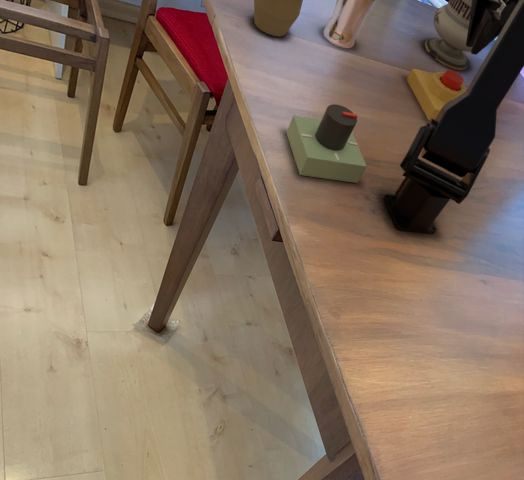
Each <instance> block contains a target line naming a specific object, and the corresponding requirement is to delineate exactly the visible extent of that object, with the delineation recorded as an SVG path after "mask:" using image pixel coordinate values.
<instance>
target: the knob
mask: <svg viewBox="0 0 524 480" xmlns="http://www.w3.org/2000/svg"><path fill="white" fill-rule="evenodd" d="M320 120H321V122H320V125H319V127H318V129H317V131H316V134H315V136H316V139H317V140H318V142H319V143H320V144H321V145H323V146H324V147H326V148H328V149H331V150H342V149H343V148H344V147H345V145H346V143H347V141H348V139H349V137H350V135H351V133H352V132H353V131H354V129H355V127H356V125H357V123H358V114H357V113H354V112H353V111H352V110H350V109H349V108H347V107H346V106H344V105H340V104H336V103H335V104H333V103H331V104H329V105H328V106H327V107H326V109H325V111H324V113H323V115H322V118H321V119H320Z"/></svg>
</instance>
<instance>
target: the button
mask: <svg viewBox="0 0 524 480" xmlns="http://www.w3.org/2000/svg"><path fill="white" fill-rule="evenodd" d="M443 73H444V75H443V77H442V78H441V80H440V81H441V83H442V84H444V85H445V86H446V87H447V88H449V89H451V90H455V91H458V90H459V88H460V87H461V85H462V84H464V82H465V79H464V77H463V76H462V75H461V74H459V73H458V72H457V71H454V70H451V69H447V70H445V71H444V72H443Z"/></svg>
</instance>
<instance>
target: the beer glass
mask: <svg viewBox="0 0 524 480" xmlns="http://www.w3.org/2000/svg"><path fill="white" fill-rule="evenodd" d="M375 2H376V0H336V2H335V7H334V9H333V13H332V15H331V17H330V19H329V20H328V22H327V24H326V26H325V28H324V30H323V33H322V34H323V36H324V38H325V39H326V40H327V42H330V43H331V44H333V45H334V46H336V47H338V48H343V49H351V48H353V47H354V45H355V43H356V38H357V36H358V32H359V29H360V27H361V24H362V23H363V21H364V19H365V18H366V16H367V14H368V13H369V11H370V10H371V8H372V6H373V5H374V4H375Z"/></svg>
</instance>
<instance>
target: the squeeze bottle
mask: <svg viewBox="0 0 524 480" xmlns="http://www.w3.org/2000/svg"><path fill="white" fill-rule="evenodd" d="M303 1H304V0H253V22H254V24H255V27H257V29H259V30H260V31H261V32H263V33H265V34H266V35H270V36H273V37H283V36H285V35H286V34H287V33H288V31H289V30H290V29H291V27H292V26H293V25H294V23H295V22H296V21H297V19H298V18H299V17H300V14H301V10H302V6H303Z"/></svg>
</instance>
